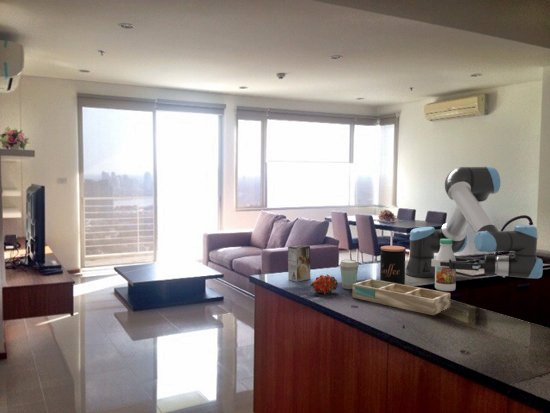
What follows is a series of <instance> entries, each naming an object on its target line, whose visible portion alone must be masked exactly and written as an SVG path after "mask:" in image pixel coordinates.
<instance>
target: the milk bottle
mask: <svg viewBox="0 0 550 413" xmlns="http://www.w3.org/2000/svg"><path fill="white" fill-rule="evenodd" d="M440 245H441V246H440V250H439V252H438V253H436V255H435V256H436V259H438V260H449V259H451V261H456V259H455V256H456V255H455V253H453V251H452V240H451V239H440ZM456 280H457V269H450V268H448V267H435V276H434V289H436V291H441V292H453V291H455V290H456V287H457V286H456V285H457V284H456V282H457V281H456Z"/></svg>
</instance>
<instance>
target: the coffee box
mask: <svg viewBox="0 0 550 413" xmlns="http://www.w3.org/2000/svg"><path fill="white" fill-rule="evenodd" d="M287 254H288V255H287V262H288V265H287V266H288V267H287V268H288V271H287V272H288V273H287V275H288V280H289V281H293V282H301V281H306V280H311V245H305V244H297V245H292V246H287Z"/></svg>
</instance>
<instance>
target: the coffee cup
mask: <svg viewBox="0 0 550 413" xmlns="http://www.w3.org/2000/svg"><path fill="white" fill-rule="evenodd" d="M339 262H340V263H339V267H340V277H341V285H342V288H343V289H345V290H352V287H353V284H355V283H357V279H358V271H359V265H360V264H359V261H358V260H357V259H348V258H347V259H346V258H345V259H341V260H340V261H339Z"/></svg>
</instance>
